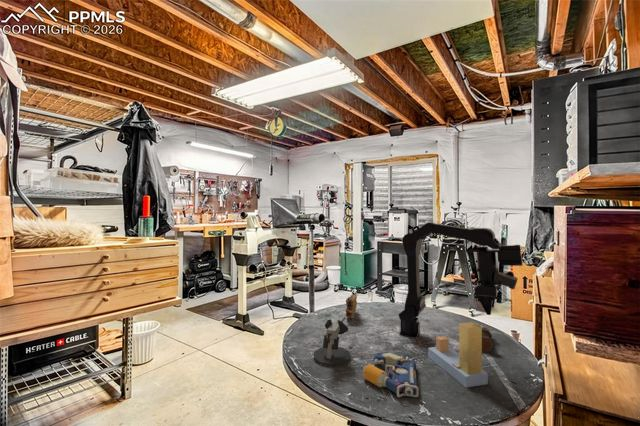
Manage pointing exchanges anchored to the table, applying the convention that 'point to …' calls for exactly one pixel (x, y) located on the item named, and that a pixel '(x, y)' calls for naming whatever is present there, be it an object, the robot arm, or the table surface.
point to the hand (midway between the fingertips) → (490, 310)
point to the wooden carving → (351, 305)
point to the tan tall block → (470, 348)
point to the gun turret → (333, 346)
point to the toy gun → (393, 374)
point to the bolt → (486, 340)
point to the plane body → (454, 364)
